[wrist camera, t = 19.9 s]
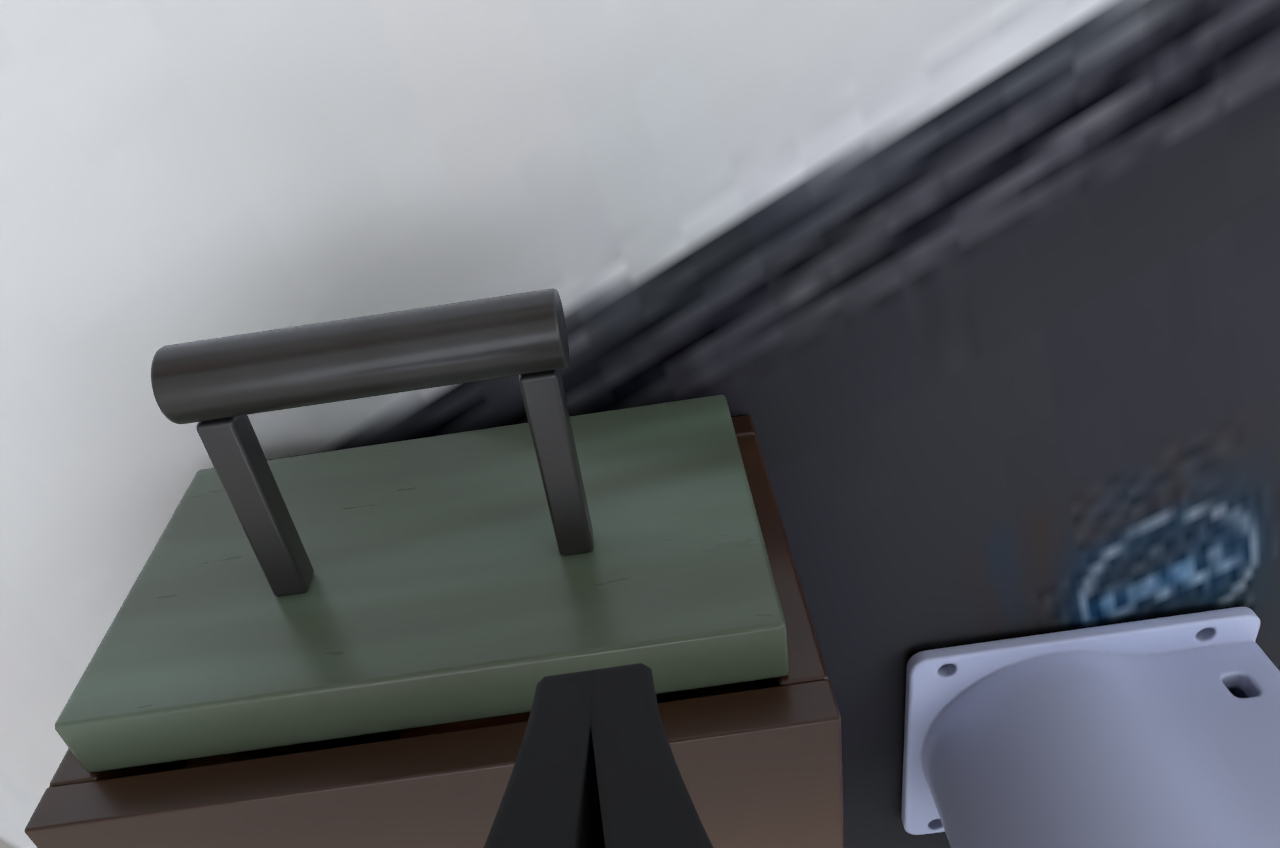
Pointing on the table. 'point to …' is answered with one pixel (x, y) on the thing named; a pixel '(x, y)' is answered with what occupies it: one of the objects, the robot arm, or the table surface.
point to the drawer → (422, 550)
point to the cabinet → (490, 766)
